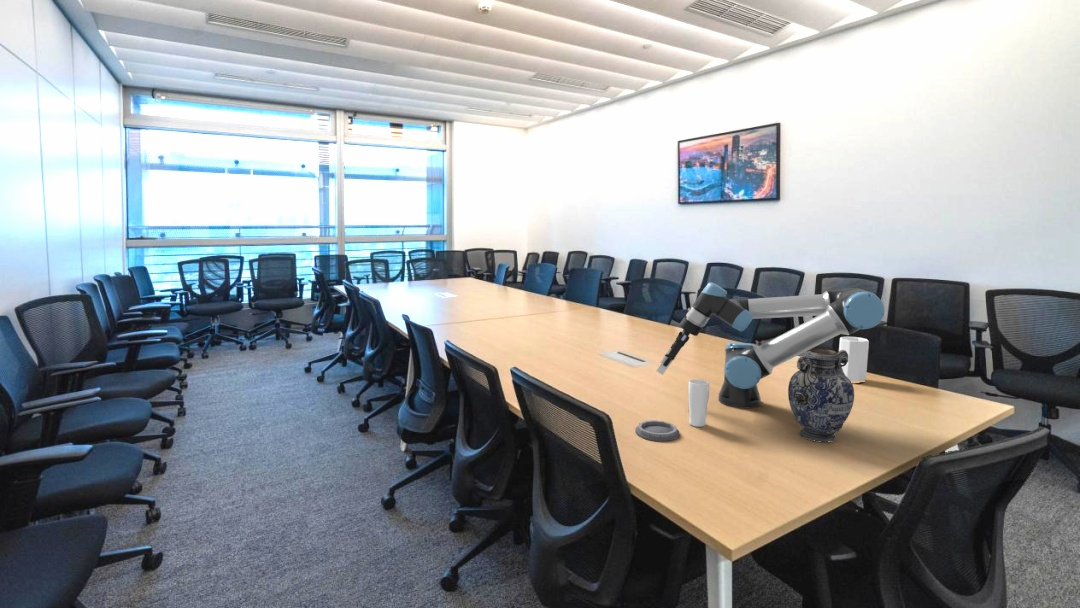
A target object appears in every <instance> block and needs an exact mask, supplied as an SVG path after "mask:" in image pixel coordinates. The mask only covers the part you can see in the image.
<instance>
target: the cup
mask: <svg viewBox="0 0 1080 608" xmlns="http://www.w3.org/2000/svg"><path fill="white" fill-rule="evenodd" d="M869 344H870V341H869V340H868V339H867V338H864V337H857V336H841V337H840V338H839V345H838V346H839V347H838V352H839V351H840V350H844V351H846V352H847V354H848V362H847V364H846V365H845V366H843V367H842V369H843V372H844V374H845V376H846V377H847V378H848V379H849V380H850V381H865V380H867V372H868V371H867V370H868V359H869V358H868V357H869V348H870V346H869ZM841 365H843V364H842V363H841Z"/></svg>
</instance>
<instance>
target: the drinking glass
mask: <svg viewBox="0 0 1080 608" xmlns="http://www.w3.org/2000/svg"><path fill="white" fill-rule="evenodd" d="M687 387H688V388H687V393H688V396H687V397H688V412H689V413H688V415H689V418H688V422H689V425H691V426H692V427H696V428H703V427H704V426H706V424H707V422H706V419H707V413H708V412H707V411H708V406H709V405H708V404H709V398H710V382H709V381H707V380H704V379H696V378H695V379H690V380H689V381H688V386H687Z"/></svg>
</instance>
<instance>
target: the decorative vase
mask: <svg viewBox="0 0 1080 608" xmlns="http://www.w3.org/2000/svg"><path fill="white" fill-rule="evenodd" d="M847 362H848V354H847V352H846V351H844V350H840V351H839V350H838V352H837V351H836V350H832V349H826V348H825V349H824V348H811V349H809V350H808V351H807V352H806V353H805V355H802V356H800V357H798V359H797V361H796V367H797V369H798V370H797V371H796V372H794V373H793V375H792V376H791V377H790V379H789V382H788V388H787V397H788V402H789V403H788V404H789V406H790V410H791V412H792V415H793V417H794V418H795V420H796V421H797V423H798V424H799V425H800V426H802V428H800V430H799V432H798V435H799V436H800V435H801V436H800V437H802V438H803V437H804V438H803V439H805V438H807V439H806V440H808V439H810V440H809V441H811V440H815V441H814V442H816V441H821V442H820V443H825V442H826V443H829V442H828V441H833V442H835V441H836V440H837V436H836V434H838V433H839V432H840V430H841V429H842V427H843V426H844V423H845V422H846V420H848V418H849V416H850V414H851V412H852V409H853V406H854V402H855V401H854V400H855V389H854V385H853V383H851V381H850V380H849V379H848V378H847V377H846V376H845V374H844V372H843V369H842V367H843V366H845V365H846V364H847ZM841 363H842V364H843V365H841ZM835 439H836V440H835ZM834 440H835V441H834Z"/></svg>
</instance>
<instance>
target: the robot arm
mask: <svg viewBox="0 0 1080 608" xmlns="http://www.w3.org/2000/svg"><path fill="white" fill-rule="evenodd" d="M727 295H728V292H727V290H725V288H723V287H721V286H720V285H718V284H717V283H715V282H713V281H712V282H708V283H707V285H706V286H705V287H704V288H703V290H702V291H701V292H700V294H699V295H698V297H697V298H696V300H695V301H694V303H693V304H692V305H691V307H688V308H687V313H686V315H685V316H684V317H683V318H682V320H681V321H680V323H679V326H680V328H681V329H682V331H681V330H680V331H679V332H678V334H677V336H676V339H675V340H674V342H673V343H672V344H671V346H670V348H669V349H668V350H667V352H666V353H665V354H664V356H663V357H662V360H661V361H660V365H659V366H657V367H658V368H656V370H655V371H656V372H658V373H659V374H661V375H664V374H665V373H666V371H667V370H668V368H669V367H670V365H672V363H673V361H674V360H675V359H676V357H677V355H679V352H680V351H681V350H682V348H683V347H684V346H685V345H686V343H687V342H688V341H689V340H690V338H691V337H690V335H692V336H695V337H696V336H698V335H699V334H700V333H701V331H702V330H703V327H705V326H706V325H707V323H708V322H709V320H710V318H711V317H712V316H713V315H714V316H715V317H716V318H718V319H720V320H721V321H723V322H724V323H726V324H728V325H729V326H730V327H732V328H733V329H735V330H737V331H738V332H743V331H745V330H746V329H747V328H748V326H749V325H750V323H752V320H754V319H755V320H756V319H775V318H795V317H796V318H797V317H812V316H813V318H811V319H809V320H807V321H805V322H804V323H801V324H799V325H797V326H795V327H793V328H792V329H790V330H788V331H786V332H784V333H783V334H779V335H778V336H776V337H774V338H773V339H770V340H769V341H766V342H764V343H763V344H761V345H757V344H755V343H748V342H727V343H726V345H725V348H724V349H725V350H724V351H725V357H724V369H723V371H724V374H723V375H724V378H723V379H724V380H723V383H722V385H721V388H720V390H719V393H718V402H719V403H721V404H723V405H725V406H728V407H732V408H740V409H752V408H758V407H759V406H760V405H761V400H762V399H761V396H760V392H759V388H758V383H759V382H760V381H761V380H762V379H764V378H765V377H768V376H769V375H771V374H772V373H773V370H774V368H776V367H777V366H779V365H782V364H783V363H786V362H787V361H790V360H792V359H794V358H795V357H797V356H800V355H801V354H803V353H805V352H808V351H809V350H810V349H814V348H815V347H817V346H819V345H821V344H823V343H825V342H827V341H830V340H831V339H833V338H835V337H838V336H839V335H846V336H849V335H851V334H854V333H856V332H857V331H860V330H867V329H872V328H875V327H876V326H877V325H879V324H880V323H881V322H882V320H883V318H884V316H885V312H886V311H885V306H884V303H883V301H882V299H881V298H879V297H878V295H877V294H875V293H873V292H872V291H867V289H863V288H861V287H851V288H844V289H842V288H841V289H835V290H825V291H824V292H823V293H822V294H806V295H790V296H776V297H758V298H747V299H746V298H745V299H738V298H731V299H729V298H728V297H727ZM814 316H815V317H814Z"/></svg>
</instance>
